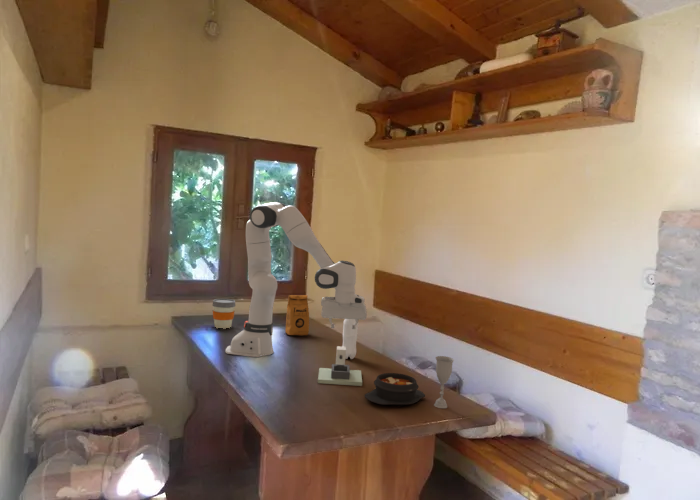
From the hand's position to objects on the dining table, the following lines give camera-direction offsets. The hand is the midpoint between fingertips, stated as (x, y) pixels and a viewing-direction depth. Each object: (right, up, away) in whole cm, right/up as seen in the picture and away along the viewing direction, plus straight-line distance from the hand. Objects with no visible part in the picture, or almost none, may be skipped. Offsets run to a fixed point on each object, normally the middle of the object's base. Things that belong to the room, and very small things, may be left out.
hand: (343, 328), depth 241 cm
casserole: (+20, -23, -35) cm, 46 cm away
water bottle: (+2, -17, +19) cm, 25 cm away
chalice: (+37, -24, -38) cm, 58 cm away
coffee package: (-26, -12, +58) cm, 65 cm away
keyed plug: (-1, -18, +1) cm, 18 cm away
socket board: (-1, -19, -13) cm, 23 cm away
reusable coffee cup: (-68, -9, +63) cm, 93 cm away
